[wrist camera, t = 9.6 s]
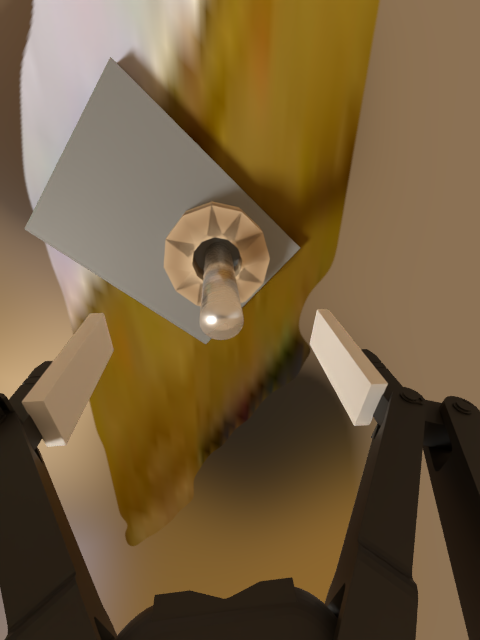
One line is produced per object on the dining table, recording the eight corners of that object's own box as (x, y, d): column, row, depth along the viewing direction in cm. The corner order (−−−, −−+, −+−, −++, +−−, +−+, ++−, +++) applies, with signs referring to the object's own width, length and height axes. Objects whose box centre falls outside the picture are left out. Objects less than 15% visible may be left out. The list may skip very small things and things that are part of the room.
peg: (200, 256, 30) (190, 324, 18) (216, 236, 29) (218, 293, 17) (219, 272, 32) (224, 346, 19) (236, 253, 31) (252, 318, 18)
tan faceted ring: (149, 259, 30) (143, 268, 28) (209, 178, 26) (209, 180, 24) (222, 312, 35) (223, 324, 32) (282, 249, 31) (289, 257, 28)
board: (32, 226, 29) (24, 229, 27) (116, 62, 23) (110, 56, 21) (206, 338, 38) (205, 344, 37) (296, 244, 32) (300, 248, 31)
